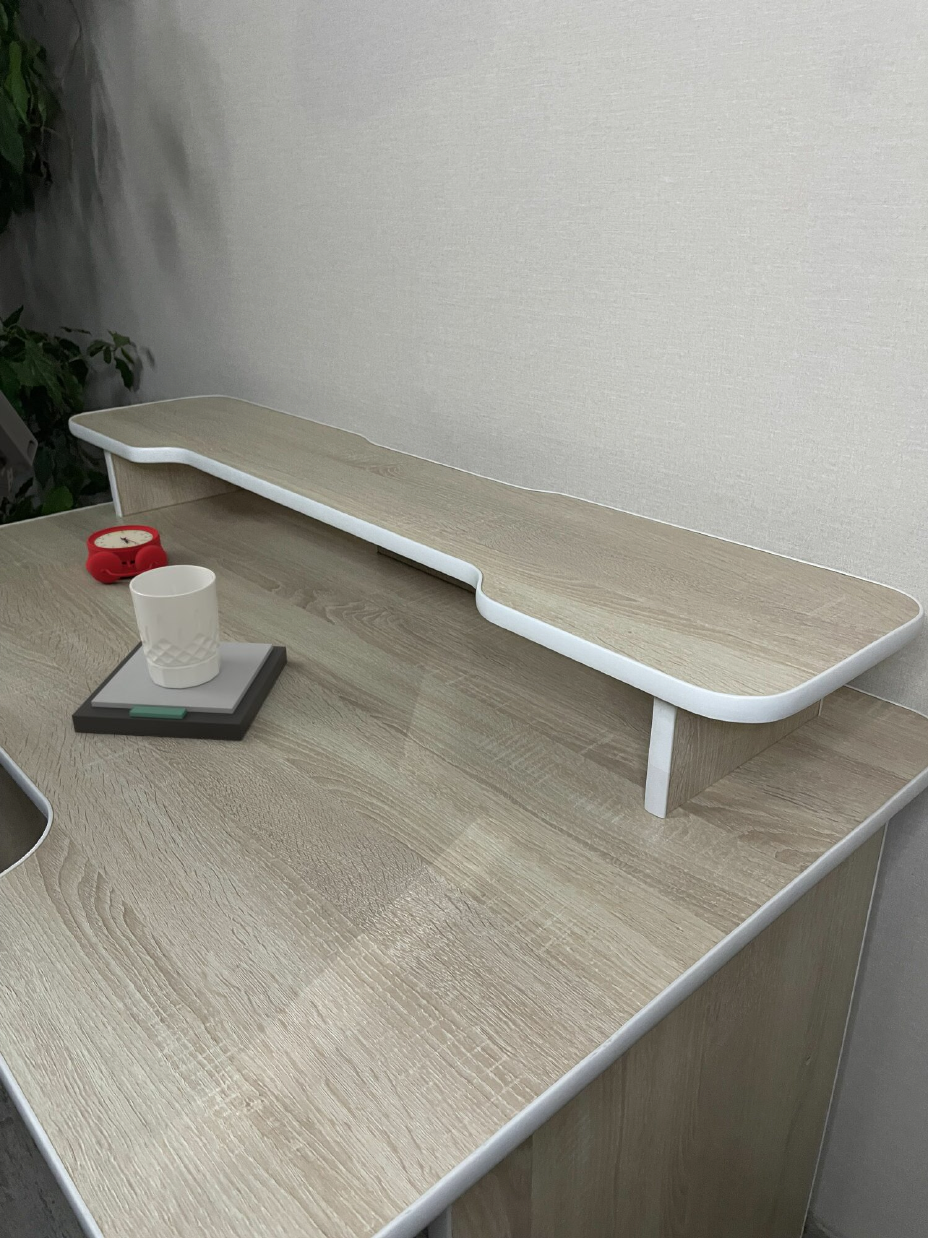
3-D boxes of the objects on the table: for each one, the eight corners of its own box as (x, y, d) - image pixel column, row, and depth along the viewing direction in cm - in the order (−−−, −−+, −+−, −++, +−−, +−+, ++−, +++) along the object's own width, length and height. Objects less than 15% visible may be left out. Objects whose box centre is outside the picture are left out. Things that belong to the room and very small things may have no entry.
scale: (74, 732, 87) (70, 709, 86) (143, 654, 102) (140, 634, 101) (241, 741, 86) (239, 718, 85) (287, 661, 101) (285, 641, 100)
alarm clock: (158, 520, 132) (168, 529, 118) (165, 563, 133) (176, 578, 119) (79, 529, 128) (80, 540, 114) (87, 574, 129) (89, 590, 116)
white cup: (243, 667, 94) (233, 575, 90) (183, 700, 88) (169, 603, 84) (188, 648, 98) (175, 559, 94) (127, 679, 92) (111, 585, 88)
